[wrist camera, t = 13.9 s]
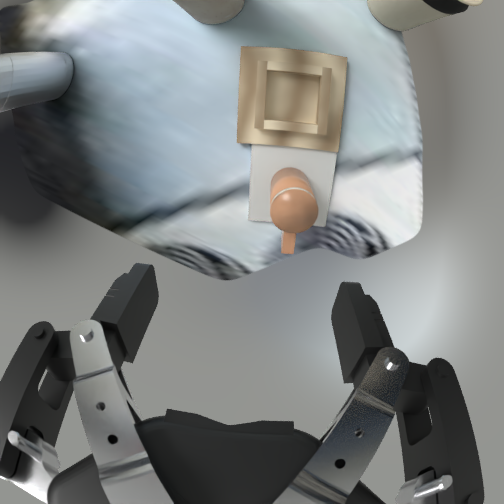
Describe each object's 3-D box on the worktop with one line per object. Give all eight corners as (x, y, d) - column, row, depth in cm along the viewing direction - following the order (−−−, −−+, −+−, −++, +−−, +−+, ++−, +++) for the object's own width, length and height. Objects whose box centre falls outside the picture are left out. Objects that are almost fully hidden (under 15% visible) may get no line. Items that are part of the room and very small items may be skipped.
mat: (248, 218, 42) (248, 220, 42) (252, 142, 36) (251, 142, 35) (324, 225, 42) (325, 226, 41) (336, 150, 35) (337, 151, 35)
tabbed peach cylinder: (271, 165, 37) (271, 187, 29) (311, 169, 36) (321, 191, 29) (267, 226, 42) (266, 260, 35) (303, 229, 42) (309, 263, 34)
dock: (237, 141, 36) (234, 145, 33) (242, 48, 28) (239, 43, 26) (336, 150, 35) (341, 155, 33) (345, 58, 28) (351, 55, 25)
